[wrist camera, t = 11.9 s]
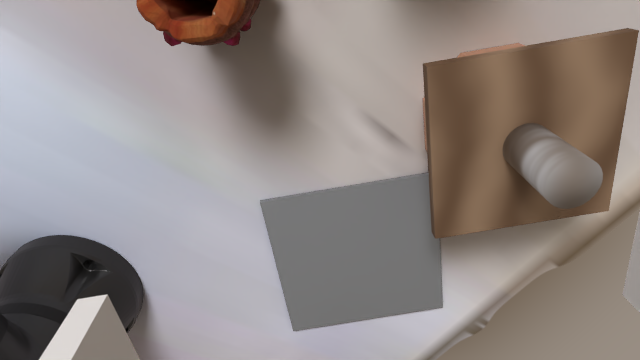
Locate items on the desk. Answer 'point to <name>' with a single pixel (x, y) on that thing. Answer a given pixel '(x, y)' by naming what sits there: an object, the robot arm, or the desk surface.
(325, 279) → the mat
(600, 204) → the lid
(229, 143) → the desk surface
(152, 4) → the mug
